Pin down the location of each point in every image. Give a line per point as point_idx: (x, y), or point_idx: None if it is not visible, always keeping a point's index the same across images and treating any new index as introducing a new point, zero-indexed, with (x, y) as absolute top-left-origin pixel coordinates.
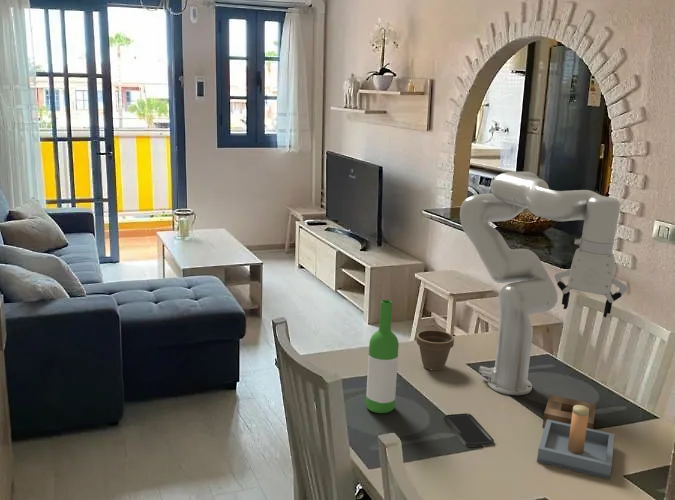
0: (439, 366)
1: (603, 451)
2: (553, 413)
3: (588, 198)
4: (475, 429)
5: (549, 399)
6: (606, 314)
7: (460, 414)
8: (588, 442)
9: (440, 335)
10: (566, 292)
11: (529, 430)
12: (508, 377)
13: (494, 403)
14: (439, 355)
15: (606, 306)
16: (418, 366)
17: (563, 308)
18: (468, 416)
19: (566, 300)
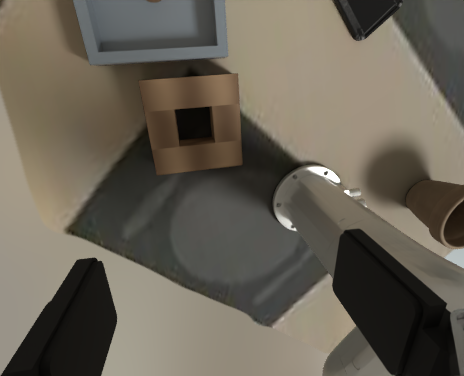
0: (417, 187)
1: (100, 12)
2: (221, 83)
3: None
4: None
5: (239, 143)
6: (70, 271)
7: (375, 27)
8: (138, 39)
9: (453, 241)
10: (460, 326)
11: (250, 45)
12: (320, 183)
13: (321, 121)
14: (439, 191)
15: (49, 326)
16: (441, 181)
17: (358, 228)
18: (360, 29)
19: (390, 265)
